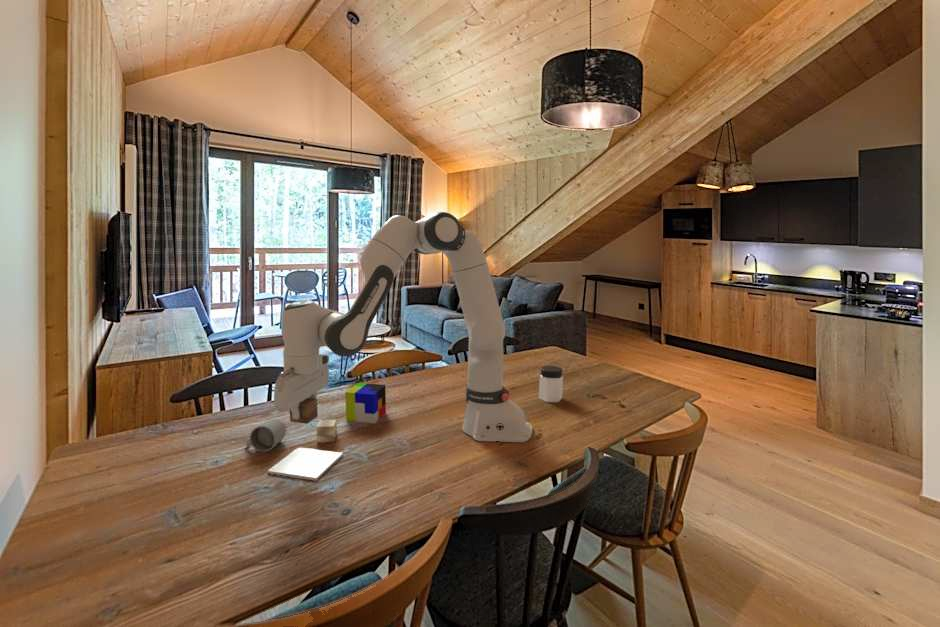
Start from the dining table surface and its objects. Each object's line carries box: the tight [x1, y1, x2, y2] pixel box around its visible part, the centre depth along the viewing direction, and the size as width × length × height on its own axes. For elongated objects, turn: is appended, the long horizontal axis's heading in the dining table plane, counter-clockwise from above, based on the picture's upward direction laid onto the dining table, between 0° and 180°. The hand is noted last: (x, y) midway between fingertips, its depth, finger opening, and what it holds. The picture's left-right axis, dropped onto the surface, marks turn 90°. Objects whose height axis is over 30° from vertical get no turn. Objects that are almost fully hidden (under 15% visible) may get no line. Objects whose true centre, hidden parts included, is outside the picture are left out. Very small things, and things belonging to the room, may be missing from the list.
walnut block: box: [289, 397, 319, 425], centre depth 126 cm, size 5×5×5 cm
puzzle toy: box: [344, 382, 387, 424], centre depth 161 cm, size 10×10×10 cm
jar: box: [538, 365, 564, 403], centre depth 180 cm, size 9×8×12 cm
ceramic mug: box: [245, 418, 287, 453], centre depth 138 cm, size 11×8×8 cm
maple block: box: [316, 419, 338, 443], centre depth 144 cm, size 5×5×5 cm
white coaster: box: [267, 446, 344, 482], centre depth 128 cm, size 14×14×1 cm
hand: (304, 413), depth 126 cm, fingers closed on walnut block, 5 cm apart
